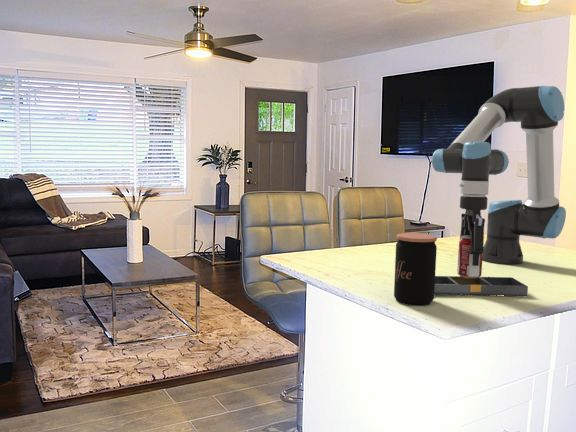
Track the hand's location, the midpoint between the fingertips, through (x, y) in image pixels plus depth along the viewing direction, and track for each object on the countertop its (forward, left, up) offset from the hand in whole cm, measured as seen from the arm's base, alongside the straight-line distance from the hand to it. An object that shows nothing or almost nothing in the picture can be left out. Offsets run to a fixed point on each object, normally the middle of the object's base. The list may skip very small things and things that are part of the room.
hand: (469, 273), depth 163 cm
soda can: (0, 0, -1) cm, 1 cm away
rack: (0, 0, -5) cm, 5 cm away
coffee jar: (+19, +13, -5) cm, 24 cm away
